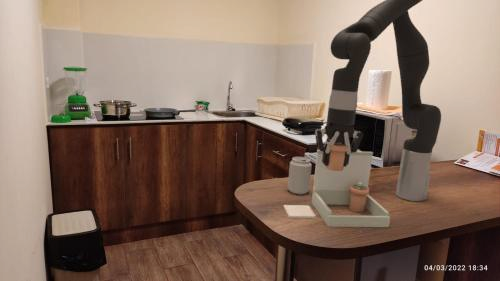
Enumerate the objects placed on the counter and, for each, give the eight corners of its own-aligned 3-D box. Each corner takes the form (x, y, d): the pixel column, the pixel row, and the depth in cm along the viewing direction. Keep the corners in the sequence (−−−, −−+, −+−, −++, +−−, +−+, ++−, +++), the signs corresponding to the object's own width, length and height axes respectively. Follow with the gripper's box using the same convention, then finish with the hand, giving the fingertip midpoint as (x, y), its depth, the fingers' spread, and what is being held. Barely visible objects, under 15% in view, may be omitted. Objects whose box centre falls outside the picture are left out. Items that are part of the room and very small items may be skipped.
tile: (308, 207, 116) (308, 205, 116) (315, 218, 108) (315, 216, 108) (283, 206, 115) (283, 205, 115) (288, 217, 107) (289, 215, 107)
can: (308, 196, 125) (311, 162, 123) (286, 193, 126) (289, 160, 124) (309, 189, 132) (312, 157, 130) (288, 186, 134) (291, 154, 131)
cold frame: (364, 203, 122) (371, 151, 118) (388, 227, 105) (398, 167, 101) (311, 202, 120) (317, 149, 116) (328, 226, 103) (335, 165, 99)
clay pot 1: (340, 166, 109) (344, 136, 107) (347, 171, 104) (352, 140, 102) (321, 165, 109) (325, 135, 107) (328, 171, 103) (332, 139, 101)
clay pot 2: (362, 206, 120) (365, 179, 118) (369, 213, 114) (373, 185, 112) (344, 205, 119) (348, 179, 117) (351, 212, 114) (354, 185, 112)
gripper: (361, 106, 107) (353, 163, 111) (313, 103, 105) (307, 161, 109) (372, 110, 100) (363, 170, 103) (321, 107, 98) (314, 168, 101)
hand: (334, 165), depth 106 cm, fingers closed on clay pot 1, 4 cm apart
